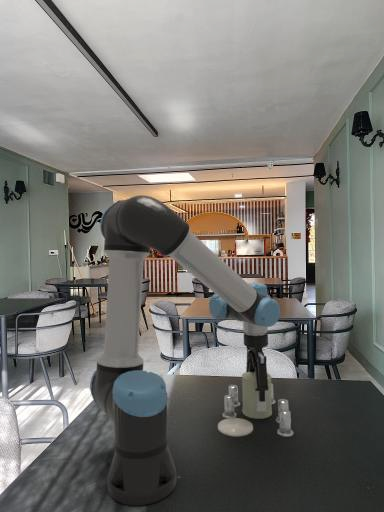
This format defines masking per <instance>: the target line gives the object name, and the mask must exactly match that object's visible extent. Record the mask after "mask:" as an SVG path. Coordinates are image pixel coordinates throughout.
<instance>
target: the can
mask: <svg viewBox="0 0 384 512" xmlns="http://www.w3.org/2000/svg"><path fill="white" fill-rule="evenodd" d="M267 378H268V390H266V411H262V412H257V397H256V391H255V389H257V381H256V374H255V372H246V371H245V372H243V374H241V382H242V383H241V386H242V387H241V389H242V414H243V415H244V416H246V417H247V418H250V419H256V420H257V419H263V420H264V419H267V418H269V417H271V416H272V415H273V409H272V405H271V383H272V375H271V374H270V373H268V372H267Z"/></svg>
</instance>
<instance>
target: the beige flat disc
mask: <svg viewBox="0 0 384 512" xmlns="http://www.w3.org/2000/svg"><path fill="white" fill-rule="evenodd" d="M217 430H218V431H219V432H220V433H221V434H223V435H226V436H230V437H236V438H237V437H244V436H248V435H249V434H251V433H252V432H253V431H254V425H253V423H252V422H250V421H249V420H247V419H244V418H238V417H236V418H228V419H227V418H224V419H222V420H221V421H219V422H218V424H217Z"/></svg>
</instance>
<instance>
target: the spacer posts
mask: <svg viewBox="0 0 384 512" xmlns="http://www.w3.org/2000/svg"><path fill="white" fill-rule="evenodd" d="M238 387H239V386H238V385H236V384H230V385H228V394H225V395H224V397H223V398H224V399H223V400H224V412H222V417H223V418H224V419H228V418H238V416H237V415H238V414H237V412H235V408H238V407H240V406H241V402H240V401H239V388H238ZM275 404H276V400H275V398H274V384H273V383H272V382H271V406H272V405H275ZM291 414H292V413H291V411H290V410H289V400H288V399H285V398H279V399H278V400H277V417H276V418H275V422H276V423H277V424H279V428H278V429H277V430H276V432H277V435H278V436H281V437H284V438H290V437H292V436H293V435H294V430H292V427H291V426H292V417H291Z"/></svg>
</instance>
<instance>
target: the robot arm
mask: <svg viewBox="0 0 384 512" xmlns="http://www.w3.org/2000/svg"><path fill="white" fill-rule="evenodd" d="M99 228H100V233H101V235H102V237H103V238H104V242H103V243H104V244H103V245H104V246H103V252H104V253H105V254H106V256H107V257H108V258H109V262H108V263H109V265H108V279H107V295H106V308H105V309H106V310H105V326H104V327H105V328H104V329H105V330H104V341H103V343H104V345H103V353H102V354H101V355H100V356H99V357H98V358H96V359H97V360H96V368H95V369H96V370H95V371H93V373H92V376H91V378H90V381H89V389H90V395H91V396H92V399H93V402H94V403H95V404H96V406H97V407H98V408H100V410H101V411H102V412H103V413H104V414H105V415H106V416H107V417H108V418H109V420H111V422H112V423H113V429H114V431H113V432H114V454H113V457H112V460H111V464H110V467H109V470H108V475H107V492H108V494H109V496H110V497H111V498H112V500H114V501H116V502H118V503H120V504H123V505H127V506H145V505H146V504H147V505H151V504H154V503H157V502H160V501H161V500H164V499H165V498H167V497H168V496H169V495H170V494H171V493H172V492H173V491H174V489H175V488H176V485H177V469H176V466H175V465H176V464H175V463H174V459H173V457H172V454H171V452H170V448H169V444H168V443H169V442H168V439H169V437H168V434H169V433H168V391H167V386H166V382H165V380H164V379H163V377H162V376H161V375H159V374H158V373H155V372H153V371H147V370H144V362H145V360H144V359H143V358H142V357H141V355H140V354H139V345H140V344H139V343H140V342H139V341H140V326H141V324H140V323H141V312H142V311H141V310H142V309H141V307H142V292H143V291H142V290H143V276H144V275H143V273H144V262H145V260H146V258H147V257H149V256H150V255H151V249H153V250H154V251H156V252H157V253H159V255H161V256H162V257H165V258H166V257H170V258H171V259H173V260H174V261H175V263H178V264H179V265H180V266H181V267H183V269H185V270H186V271H187V272H188V273H190V274H191V275H192V276H193V277H194V278H195V279H197V280H198V281H200V283H202V284H203V285H204V286H205V287H207V288H208V289H209V290H211V292H212V293H214V294H213V295H211V297H210V299H209V301H208V310H209V313H210V315H211V317H212V318H213V319H215V320H226V319H230V320H236V321H238V322H239V321H240V322H242V331H243V332H244V333H243V345H244V346H245V347H246V369H245V370H246V371H245V373H246V372H255V374H256V381H257V389H255V391H256V397H257V412H262V411H266V390H268V378H267V373H268V368H267V356H266V355H265V352H264V351H263V349H264V348H266V347H267V346H268V345H269V334H268V332H269V329H268V328H270V327H273V326H275V325H276V324H277V322H278V321H279V318H280V317H281V307H280V305H279V303H278V302H277V301H276V299H273V298H270V297H268V289H267V285H266V284H265V283H262V282H261V283H260V282H258V283H257V282H250V283H249V282H247V281H246V280H245V279H243V278H242V277H241V276H240V275H239V274H238V273H237V272H236V271H234V269H232V268H231V267H230V266H229V265H228V264H227V263H226V262H224V260H222V259H221V258H220V257H219V256H218V255H217V254H216V253H215V252H213V251H212V250H211V249H210V248H209V247H208V246H207V245H206V244H205V243H204V242H202V241H201V240H200V239H199V238H198V237H197V236H196V235H195V234H194V233H193V232H191V225H190V224H189V223H188V222H187V221H186V220H184V219H183V217H181V216H180V215H179V214H177V212H175V211H174V210H173V209H172V208H170V207H169V206H168V205H166V204H165V203H164V202H162V201H160V200H159V199H156V198H155V197H152V196H149V195H141V194H140V195H135V196H132V197H130V198H127V199H122V200H119V201H116V202H114V203H112V204H111V205H110V206H108V207H107V208H106V209H105V210H104V211H103V214H102V215H101V218H100V222H99Z"/></svg>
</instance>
